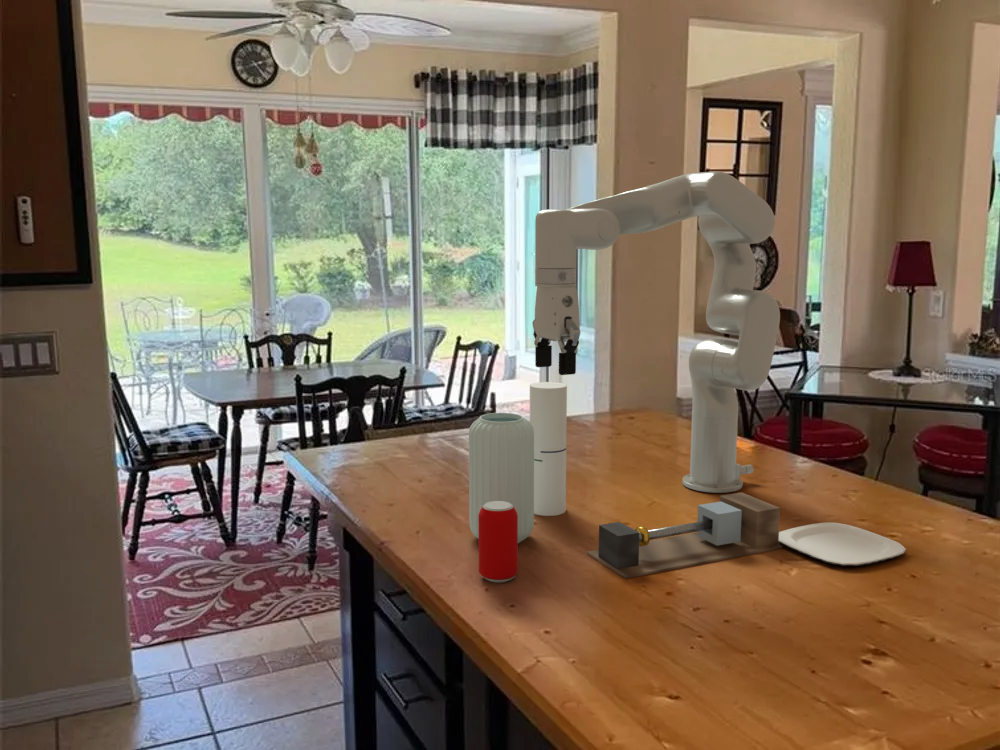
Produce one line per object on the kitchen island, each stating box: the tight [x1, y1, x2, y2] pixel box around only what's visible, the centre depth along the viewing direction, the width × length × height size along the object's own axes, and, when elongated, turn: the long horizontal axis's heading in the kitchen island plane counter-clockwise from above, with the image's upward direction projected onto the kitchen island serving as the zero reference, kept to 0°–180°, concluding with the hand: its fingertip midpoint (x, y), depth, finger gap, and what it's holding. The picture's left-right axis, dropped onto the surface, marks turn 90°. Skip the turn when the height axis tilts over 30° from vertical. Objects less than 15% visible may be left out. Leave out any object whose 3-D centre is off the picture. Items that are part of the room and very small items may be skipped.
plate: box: [778, 522, 907, 567], centre depth 155 cm, size 18×18×2 cm
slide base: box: [586, 492, 783, 579], centre depth 153 cm, size 32×12×7 cm, turn 115°
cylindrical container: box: [529, 381, 568, 517], centre depth 174 cm, size 7×7×25 cm
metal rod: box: [634, 520, 713, 547], centre depth 152 cm, size 26×3×3 cm, turn 115°
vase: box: [468, 412, 535, 544], centre depth 158 cm, size 12×12×22 cm
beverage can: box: [478, 501, 519, 584], centre depth 141 cm, size 6×6×12 cm
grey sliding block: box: [696, 500, 742, 546], centre depth 156 cm, size 5×6×6 cm
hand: (555, 370), depth 166 cm, fingers open, 9 cm apart
